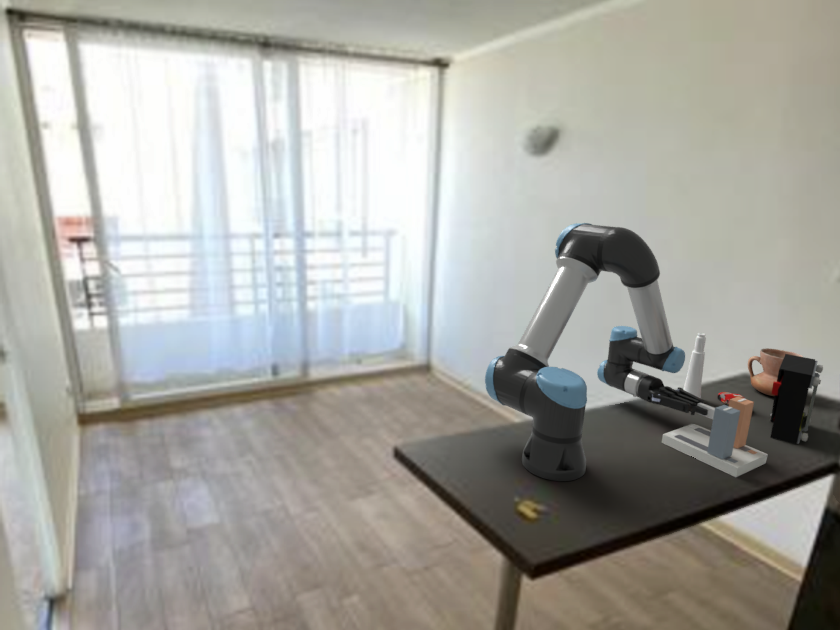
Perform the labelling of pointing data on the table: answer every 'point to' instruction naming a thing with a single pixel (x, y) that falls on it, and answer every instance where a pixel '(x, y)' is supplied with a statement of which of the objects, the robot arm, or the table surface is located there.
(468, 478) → the table surface
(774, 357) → the ceramic jug
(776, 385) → the electrical component
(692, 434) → the switch plate
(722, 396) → the race car
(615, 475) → the table surface
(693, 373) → the cosmetic bottle
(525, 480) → the table surface
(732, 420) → the slate switch
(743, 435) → the terracotta switch
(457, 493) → the table surface
